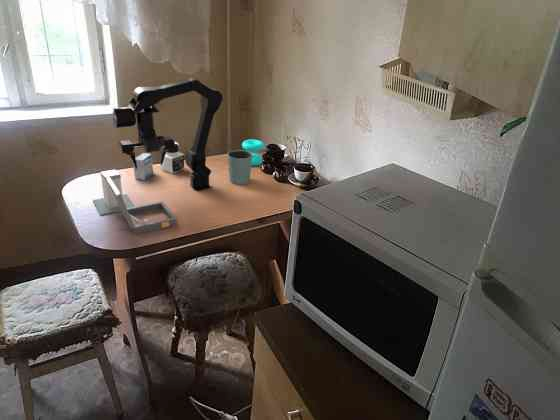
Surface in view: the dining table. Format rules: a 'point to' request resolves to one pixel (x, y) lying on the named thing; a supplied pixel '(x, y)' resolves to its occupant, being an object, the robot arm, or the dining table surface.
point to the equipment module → (107, 190)
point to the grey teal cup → (239, 166)
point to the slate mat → (105, 210)
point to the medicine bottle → (173, 160)
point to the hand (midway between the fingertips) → (148, 166)
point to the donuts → (254, 150)
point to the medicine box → (143, 166)
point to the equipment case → (142, 209)
